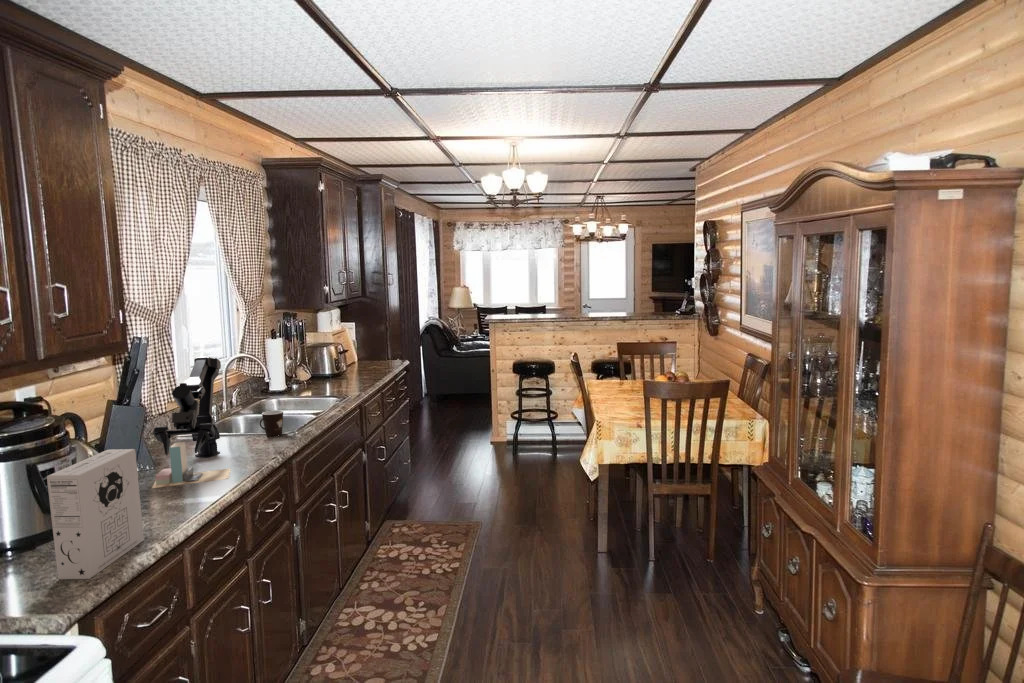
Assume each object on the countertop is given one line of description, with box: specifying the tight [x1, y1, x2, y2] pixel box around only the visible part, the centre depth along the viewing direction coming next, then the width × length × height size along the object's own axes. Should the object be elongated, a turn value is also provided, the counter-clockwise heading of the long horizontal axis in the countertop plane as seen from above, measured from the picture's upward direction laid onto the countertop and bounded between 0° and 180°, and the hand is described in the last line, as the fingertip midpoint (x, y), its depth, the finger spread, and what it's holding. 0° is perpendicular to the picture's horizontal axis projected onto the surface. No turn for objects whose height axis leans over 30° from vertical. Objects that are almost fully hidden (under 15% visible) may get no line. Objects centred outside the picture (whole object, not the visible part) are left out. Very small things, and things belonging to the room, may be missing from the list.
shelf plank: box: [151, 468, 232, 489], centre depth 220 cm, size 23×12×1 cm, turn 110°
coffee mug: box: [259, 409, 284, 438], centre depth 278 cm, size 12×9×10 cm
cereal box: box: [46, 448, 145, 580], centre depth 160 cm, size 22×8×25 cm, turn 178°
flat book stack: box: [155, 467, 172, 485], centre depth 218 cm, size 8×4×3 cm, turn 11°
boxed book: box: [169, 441, 189, 483], centre depth 218 cm, size 6×3×12 cm, turn 11°
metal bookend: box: [184, 466, 203, 482], centre depth 219 cm, size 7×4×3 cm, turn 11°
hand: (181, 453), depth 220 cm, fingers open, 9 cm apart
